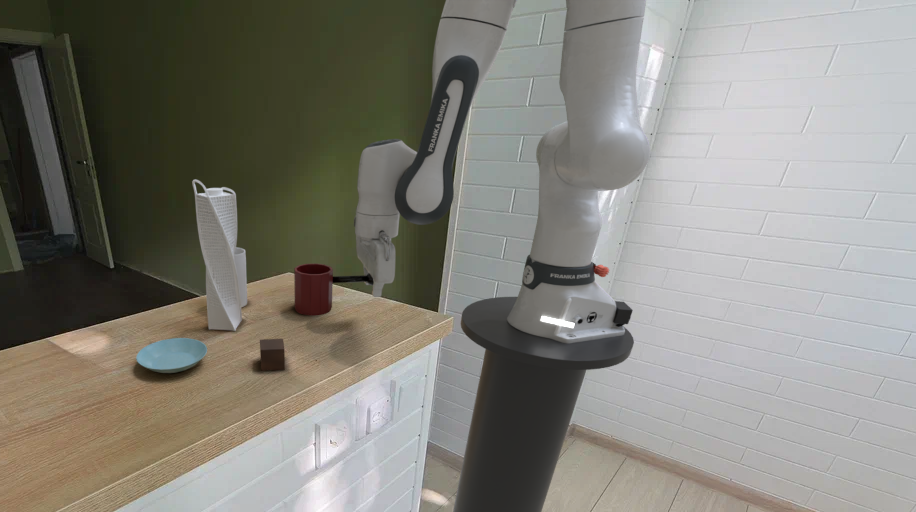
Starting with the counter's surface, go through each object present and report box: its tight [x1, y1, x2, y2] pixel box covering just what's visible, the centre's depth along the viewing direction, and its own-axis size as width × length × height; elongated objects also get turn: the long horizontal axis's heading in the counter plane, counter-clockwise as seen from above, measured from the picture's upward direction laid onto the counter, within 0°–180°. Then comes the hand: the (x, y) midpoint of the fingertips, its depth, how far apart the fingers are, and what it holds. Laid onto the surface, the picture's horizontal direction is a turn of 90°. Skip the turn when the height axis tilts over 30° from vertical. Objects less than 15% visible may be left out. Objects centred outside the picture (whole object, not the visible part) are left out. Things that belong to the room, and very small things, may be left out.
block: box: [259, 338, 286, 372], centre depth 82 cm, size 4×4×4 cm
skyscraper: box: [191, 178, 243, 332], centre depth 91 cm, size 8×8×28 cm
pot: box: [293, 263, 374, 317], centre depth 104 cm, size 18×8×9 cm, turn 96°
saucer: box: [135, 337, 208, 374], centre depth 83 cm, size 12×12×2 cm
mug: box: [234, 246, 248, 308], centre depth 104 cm, size 10×7×12 cm, turn 169°
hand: (372, 289), depth 105 cm, fingers open, 6 cm apart
